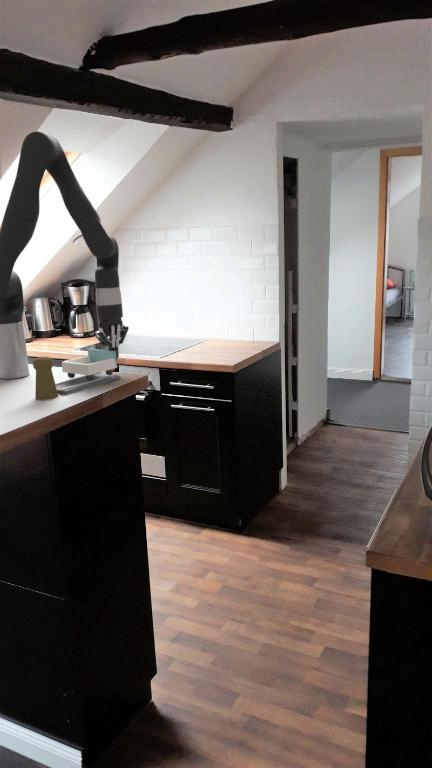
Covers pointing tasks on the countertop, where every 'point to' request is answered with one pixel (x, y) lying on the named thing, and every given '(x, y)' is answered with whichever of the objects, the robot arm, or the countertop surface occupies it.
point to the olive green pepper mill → (44, 379)
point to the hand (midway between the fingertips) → (114, 359)
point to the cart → (91, 364)
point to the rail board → (83, 383)
